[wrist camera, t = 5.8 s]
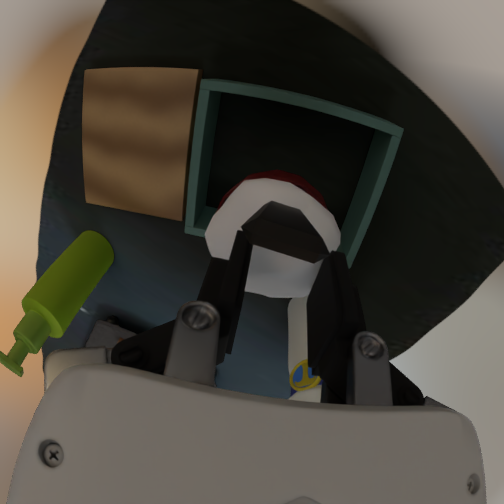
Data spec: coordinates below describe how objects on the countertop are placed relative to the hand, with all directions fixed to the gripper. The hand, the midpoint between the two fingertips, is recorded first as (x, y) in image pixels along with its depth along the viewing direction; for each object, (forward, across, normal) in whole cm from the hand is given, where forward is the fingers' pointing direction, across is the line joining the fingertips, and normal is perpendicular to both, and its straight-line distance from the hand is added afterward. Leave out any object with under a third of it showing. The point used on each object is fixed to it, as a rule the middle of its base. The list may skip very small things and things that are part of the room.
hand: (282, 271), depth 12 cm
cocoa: (+7, 0, 0) cm, 7 cm away
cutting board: (+17, +15, +1) cm, 22 cm away
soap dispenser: (+17, +22, +16) cm, 31 cm away
